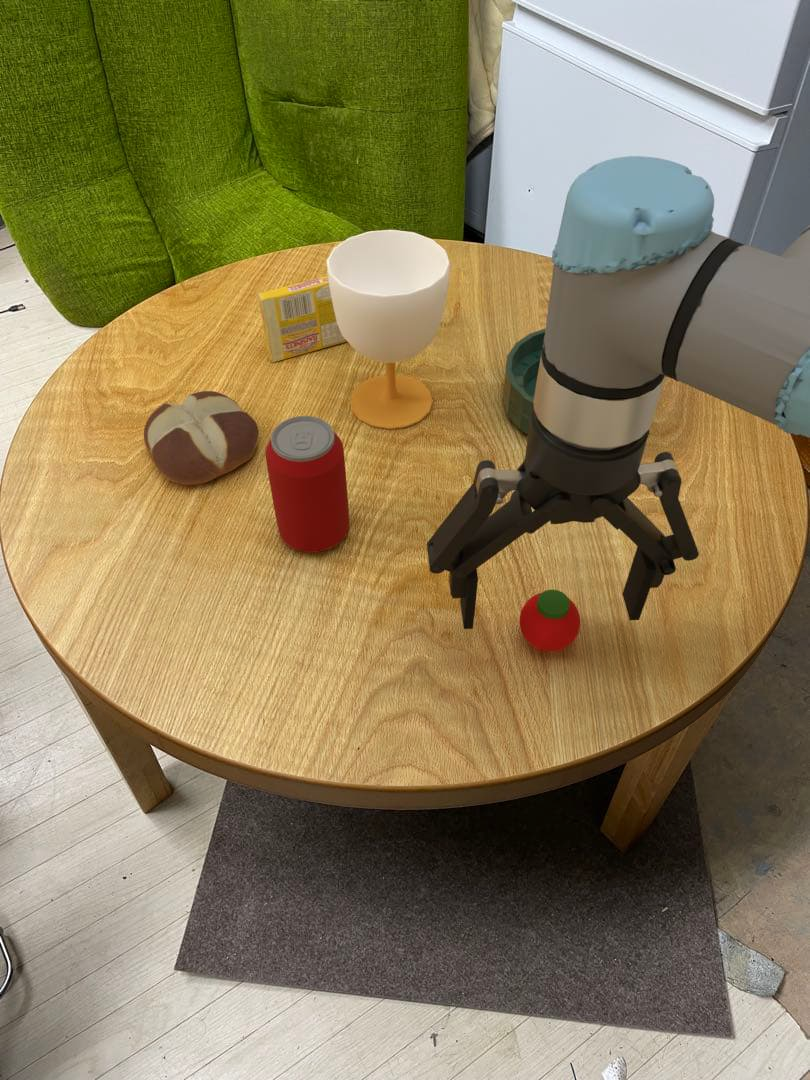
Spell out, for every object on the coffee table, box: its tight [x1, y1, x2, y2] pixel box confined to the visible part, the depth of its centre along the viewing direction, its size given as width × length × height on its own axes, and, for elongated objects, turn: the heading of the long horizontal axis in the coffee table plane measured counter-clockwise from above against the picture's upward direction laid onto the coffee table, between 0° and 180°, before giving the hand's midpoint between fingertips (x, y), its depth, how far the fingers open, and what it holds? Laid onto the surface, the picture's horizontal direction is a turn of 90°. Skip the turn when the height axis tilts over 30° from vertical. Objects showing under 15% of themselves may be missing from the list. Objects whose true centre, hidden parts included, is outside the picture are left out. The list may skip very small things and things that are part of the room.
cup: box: [325, 229, 451, 430], centre depth 88 cm, size 12×12×17 cm
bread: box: [143, 390, 259, 486], centre depth 88 cm, size 11×11×5 cm
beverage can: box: [264, 415, 350, 553], centre depth 78 cm, size 7×7×12 cm
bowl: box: [502, 327, 546, 435], centre depth 92 cm, size 15×15×5 cm
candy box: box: [257, 275, 348, 363], centre depth 99 cm, size 16×2×8 cm, turn 115°
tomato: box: [519, 589, 581, 653], centre depth 72 cm, size 5×5×5 cm
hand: (548, 611), depth 71 cm, fingers open, 13 cm apart
